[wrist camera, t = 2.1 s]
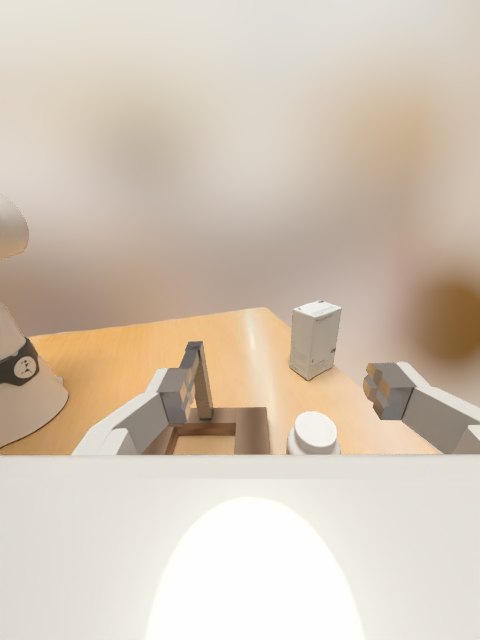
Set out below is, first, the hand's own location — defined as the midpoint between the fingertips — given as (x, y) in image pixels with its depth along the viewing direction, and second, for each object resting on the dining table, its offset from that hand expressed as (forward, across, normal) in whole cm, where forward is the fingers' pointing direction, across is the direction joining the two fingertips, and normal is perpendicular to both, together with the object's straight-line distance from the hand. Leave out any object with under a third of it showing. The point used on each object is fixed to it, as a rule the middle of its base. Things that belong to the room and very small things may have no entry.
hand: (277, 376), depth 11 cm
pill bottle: (+9, -6, +27) cm, 29 cm away
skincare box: (+33, -12, +27) cm, 45 cm away
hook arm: (+13, +10, +27) cm, 32 cm away
